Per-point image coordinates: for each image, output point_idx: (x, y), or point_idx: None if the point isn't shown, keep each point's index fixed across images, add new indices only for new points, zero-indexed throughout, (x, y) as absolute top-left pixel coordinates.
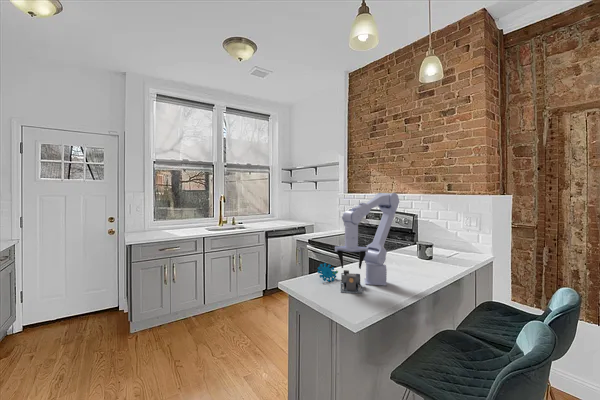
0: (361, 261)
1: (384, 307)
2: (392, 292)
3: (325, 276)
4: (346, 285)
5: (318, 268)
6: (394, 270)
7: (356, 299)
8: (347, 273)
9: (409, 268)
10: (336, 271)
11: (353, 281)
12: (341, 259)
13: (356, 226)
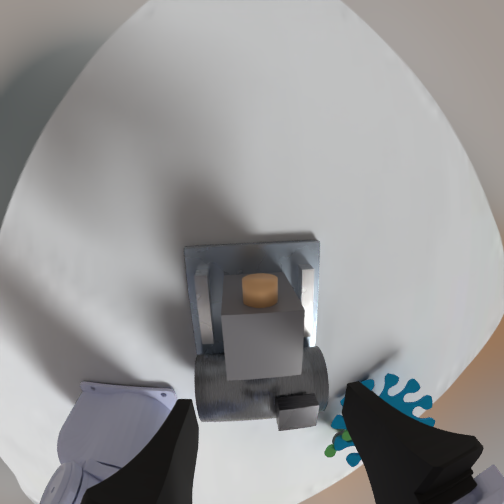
0: (154, 446)
1: (86, 78)
2: (45, 299)
3: (390, 396)
4: (288, 284)
5: (431, 418)
6: None
7: (219, 141)
8: (288, 399)
9: None
10: (333, 451)
11: (241, 297)
12: (403, 426)
13: None
